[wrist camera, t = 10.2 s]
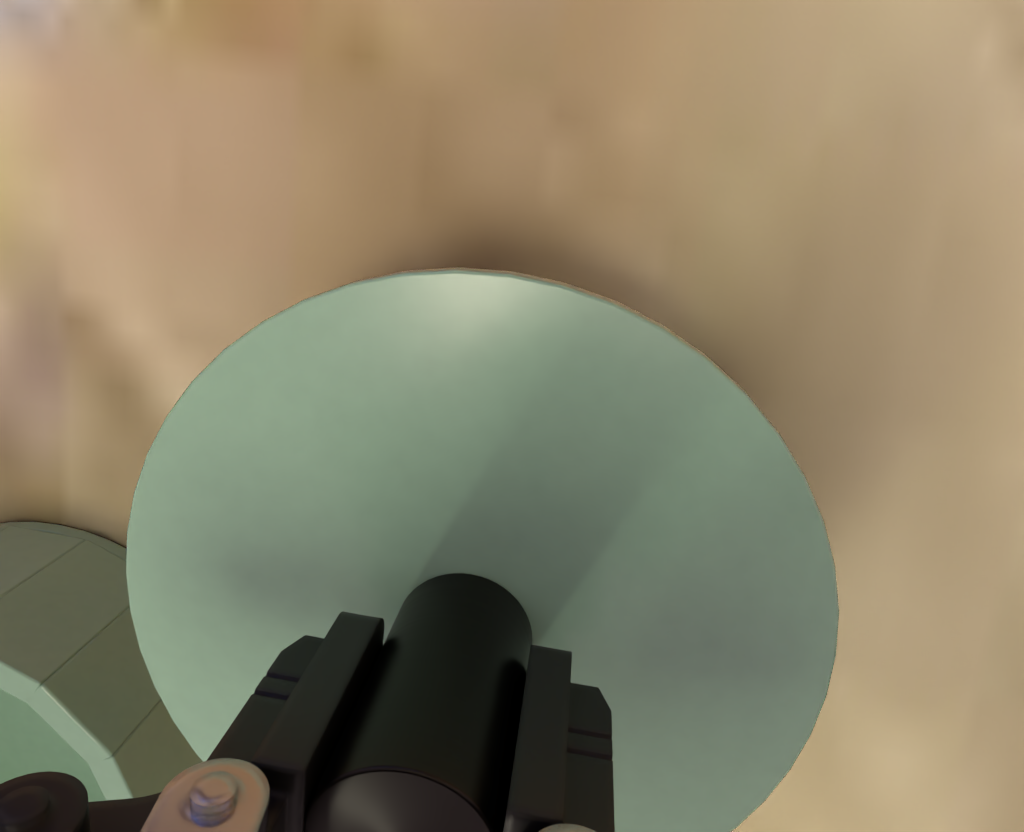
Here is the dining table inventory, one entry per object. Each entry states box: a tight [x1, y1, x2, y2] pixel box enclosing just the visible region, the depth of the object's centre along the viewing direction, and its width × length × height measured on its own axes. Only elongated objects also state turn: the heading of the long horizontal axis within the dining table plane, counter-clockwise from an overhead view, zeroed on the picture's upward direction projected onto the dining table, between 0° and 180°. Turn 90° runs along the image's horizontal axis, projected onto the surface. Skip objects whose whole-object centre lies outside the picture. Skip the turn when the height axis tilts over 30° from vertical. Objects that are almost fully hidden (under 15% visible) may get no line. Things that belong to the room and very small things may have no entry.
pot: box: [0, 522, 203, 802], centre depth 22 cm, size 13×13×6 cm
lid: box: [126, 267, 839, 832], centre depth 12 cm, size 14×14×6 cm
